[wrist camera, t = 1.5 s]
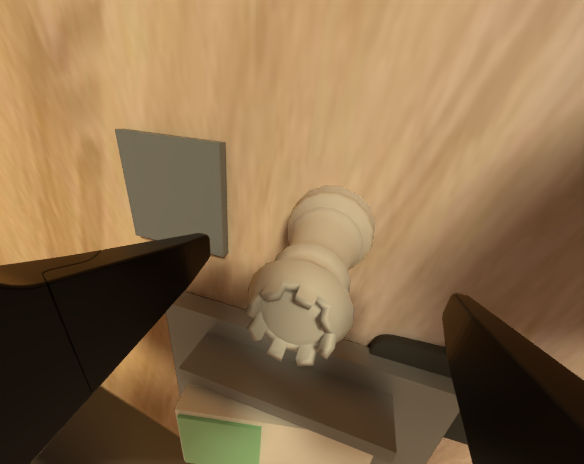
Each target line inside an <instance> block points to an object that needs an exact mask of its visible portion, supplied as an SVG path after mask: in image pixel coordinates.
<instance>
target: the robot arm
mask: <svg viewBox="0 0 584 464" xmlns="http://www.w3.org/2000/svg"><path fill="white" fill-rule="evenodd" d="M210 253H211V251H210V238H209V236H208V235H207V234H203V233H194V234H189V235H183V236H178V237H172V238H166V239H161V240H155V241H150V242H144V243H138V244H133V245H127V246H121V247H116V248H110V249H105V250H102V251H101V250H99V251H93V252H87V253H82V254H76V255H70V256H63V257H56V258H50V259H43V260H36V261H29V262H22V263H15V264H8V265H1V266H0V464H30V463H32V462H33V460H34V459H35V458H36V457H37V456H38V455H39V454H40V453H41V451H42V450H43V449H44V448H45V447H46V446H47V445H48V444H49V443H50V441H51V440H52V439H53V438H54V437H55V436H56V435H57V433H58V432H59V431H60V430H61V429H62V428H63V427H64V426H65V424H66V423H67V422H68V421H69V420H70V419H71V418H72V417H73V416H74V414H75V413H76V412H77V411H78V410H79V409H80V408H81V407H82V405H83V404H84V403H85V402H86V401H87V400H88V399H89V398H90V397H91V395H92V393H93V392H95V391H96V390H97V388H98V387H99V386H100V385H101V384H102V383H103V382H104V381H105V380H106V378H107V377H108V376H109V375H110V374H111V373H112V372H113V371H114V369H115V368H116V367H117V366H118V365H119V364H120V363H121V362H122V360H123V359H124V358H125V357H126V356H127V355H128V354H129V353H130V352H131V350H132V349H133V348H134V347H135V346H136V345H137V344H138V343H139V341H140V340H141V339H142V338H143V337H144V336H145V335H146V334H147V332H148V331H149V330H150V329H151V328H152V327H153V326H154V325H155V324H156V322H157V321H158V320H159V319H160V318H161V317H162V316H163V315H164V313H165V312H166V311H167V310H168V309H169V308H170V307H171V306H172V304H173V303H174V302H175V301H176V300H177V299H178V298H179V297H180V296H181V294H182V293H183V292H184V291H185V290H186V289H187V288H188V286H189V285H190V284H191V282H192V281H193V280H194V278H195V277H196V276H197V274H198V273H199V271H200V270H201V269H202V267H203V266H204V265H205V263H206V262H207V260H208V259H209V257H210ZM442 320H443V328H444V337H445V345H446V353H447V360H448V365H449V370H450V374H451V378H452V382H453V386H454V390H455V394H456V398H457V402H458V406H459V410H460V414H461V418H462V422H463V427H464V431H465V435H466V439H467V443H468V447H469V451H470V455H471V459H472V463H473V464H584V380H582V379H581V378H579V377H578V376H577V375H575V374H574V373H573V372H571V371H570V370H569V369H567V368H566V367H564V366H563V365H562V364H560V363H559V362H558V361H556V360H555V359H554V358H552V357H551V356H549V355H548V354H547V353H545V352H544V351H543V350H541V349H540V348H539V347H537V346H536V345H534V344H533V343H532V342H530V341H529V340H528V339H526V338H525V337H524V336H522V335H521V334H520V333H518V332H517V331H515V330H514V329H513V328H511V327H510V326H509V325H507V324H506V323H505V322H503V321H502V320H500V319H499V318H498V317H496V316H495V315H494V314H492V313H491V312H490V311H488V310H487V309H485V308H484V307H483V306H481V305H480V304H479V303H477V302H476V301H475V300H473V299H472V298H470V297H469V296H467V295H463V294H458V293H453V294H452V295H451V297H450V299H449V301H448V303H447V305H446V307H445V309H444V312H443V316H442Z"/></svg>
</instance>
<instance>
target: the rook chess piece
mask: <svg viewBox="0 0 584 464" xmlns="http://www.w3.org/2000/svg"><path fill="white" fill-rule="evenodd" d="M374 231H375V220H374V217H373V214H372V211H371V208H370V206H369V205H368V204H367V203H366V202H365V201H364V200H363V199H362V197H361V196H360V195H359V194H357V193H355V192H353V191H351V190H349V189H346V188H344V187H342V186H322V187H320V188H317V189H314V190H311V191H309V192H308V193H307V194H306V195H304V196H303V197H302V198H301V199H300V200H299V201H298V202H297V204H296V206H295V207H294V209H293V211H292V213H291V216H290V218H289V221H288V240H289V243H290V246H288V247H287V248H285V249H284V250H283V251H282V252H281V253H279V254H278V255H277V257H276V259H275V261H274V262H270V263H267V264H265V265H264V266H263V267H262V268H261V269H259V270H258V271H257V272H256V273H255V274H254V275H253V278H252V280H251V283H250V286H249V288H248V293H249V302H250V303H249V305H248V308H247V310H246V313H245V315H247V316H250V317H252V318H253V319H252V320H251V322H250V324H249V325H248V327H247V330H248V332H249V334H250V336H251V338H252V339H253V341H254V342H255V341H258V340H261V339H262V337H263V335H264V334H265V335H266V336H267V337H268V338H269V339H270V340H271V341H272V342H271V344H270V346H269V348H268V350H267V352H266V354H268V355H269V356H271V357H273V358H275V359H277V360H278V361H280V362H281V361H282V358H283V356H284V353H285V350H286V349H287V350H292V351H296V352H297V355H296V358H295V359H296V362H297V366H314V362H315V358H316V354H317V352H318V353H319V354H320V355H321V356H323V357H324V358H325V359H327V358H328V357H329V356H330V354H331V353H332V352H333V350H334V349H335V344H336V343H337V342H339V341H341V340H343V338H344V337H345V336H346V334H347V333H348V332H349V330H350V329H351V328H352V326H353V316H354V307H353V304H352V302H351V299H350V296H349V294H348V293H349V289H350V276H349V274H348V270H349V269H351V268H352V267H354V266H355V265H357V264H359V263H360V262H362V260H363V259H364V258H365V256H366V254H367V253H368V251H369V250H370V248H371V247H372V242H373V239H374Z"/></svg>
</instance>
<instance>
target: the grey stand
mask: <svg viewBox="0 0 584 464" xmlns="http://www.w3.org/2000/svg"><path fill="white" fill-rule="evenodd" d="M245 313H246V310H244V309H241V308H237V307H234V306H231V305H228V304H224V303H221V302H218V301H214V300H211V299H208V298H204V297H201V296H198V295H194V294H191V293H188V292H185V291H184V292H183V293H182V294H181V296H180V297H179V298H178V299H177V300H176V301H175V302H174V303H173V304H172V306H171V307H170V308H169V309H168V310H167V311H166V316H167V322H168V328H169V334H170V340H171V346H172V352H173V358H174V364H175V370H176V375H177V381H178V387H179V393H180V397H181V395H182V393H183V391H184V389H185V387H186V385H187V384H188V385H195V386H200V387H203V388H205V389H208V390H210V391H213V392H215V393H218V394H220V395H223V396H225V397H228V398H230V399H233V400H235V401H238V402H240V403H243V404H245V405H248V406H250V407H253V408H255V409H258V410H260V411H263V412H265V413H268V414H270V415H273V416H275V417H278V418H280V419H283V420H285V421H288V422H290V423H293V424H295V425H298V426H300V427H303V428H305V429H308V430H310V431H313V432H315V433H318V434H320V435H323V436H325V437H328V438H330V439H333V440H335V441H338V442H340V443H343V444H345V445H348V446H350V447H353V448H355V449H358V450H360V451H363V452H365V453H368V454H370V455H373V458H372V460H371V462H370V464H426V463H427V461H428V460H429V458H430V457H431V455H432V454H433V452H434V450H435V449H436V447H437V446H438V444H439V443H440V441H441V440H442V438H443V436H444V435H445V433H446V432H447V430H448V429H449V427H450V425H451V424H452V422H453V421H454V419H455V418H456V416H457V415H458V413H459V411H460V410H459V406H458V402H457V398H456V394H455V390H454V386H453V382H452V378H449V377H445V376H442V375H439V374H435V373H432V372H429V371H425V370H422V369H419V368H415V367H412V366H408V365H405V364H402V363H398V362H395V361H392V360H388V359H385V358H382V357H378V356H375V355H371V354H370V347H367V346H363V345H360V344H357V343H353V342H350V341H347V340H341V341H339V342H337V343H336V344H335V349H334V350H333V352H332V353H331V354H330V356H329V357H328V358H327V359H325V358H324V357H323V356H321V355H320V354H319V353H318V352H317V354H316V358H315V362H314V366H297V362H296V359H295V358H296V355H297V352H296V351H292V350H287V349H286V350H285V353H284V356H283V358H282V361H281V362H280V361H278V360H277V359H275V358H273V357H271V356H269V355H268V354H266V352H267V350H268V348H269V346H270V344H271V342H272V341H271V340H270V339H269V338H268V337H267V336H266V335H265V334H264V335H263V337H262V339H261V340H258V341H255V342H254V341H253V339H252V338H251V336H250V334H249V332H248V330H247V327H248V325H249V324H250V322H251V320H252V319H253V318H252V317H250V316H247V315H245Z"/></svg>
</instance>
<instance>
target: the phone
mask: <svg viewBox="0 0 584 464" xmlns="http://www.w3.org/2000/svg"><path fill="white" fill-rule="evenodd" d="M370 354H371V355H375V356H378V357H382V358H385V359H388V360H392V361H395V362H398V363H402V364H405V365H408V366H412V367H415V368H419V369H422V370H425V371H429V372H432V373H435V374H439V375H442V376H445V377H449V378H451V374H450V370H449V365H448V360H447V353H446V347H441V346H437V345H433V344H429V343H425V342H421V341H417V340H412V339H408V338H404V337H400V336H395V335H388V334H384V335H379V336H377V337H375V338H374V339H373V340H372V342H371V344H370ZM443 437H445V438H448V439H451V440H455V441H458V442H461V443H464V444H467V445H468V443H467V439H466V435H465V431H464V427H463V422H462V418H461V414H460V411H459V413H458V415H457V416H456V418H455V419H454V421H453V422H452V424H451V425H450V427H449V429H448V430H447V432H446V433H445V435H444V436H443Z"/></svg>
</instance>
